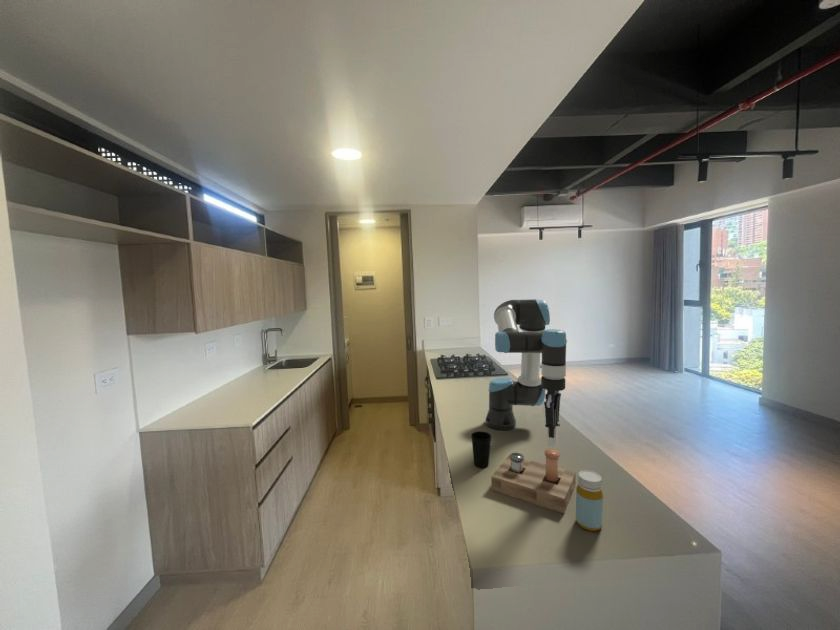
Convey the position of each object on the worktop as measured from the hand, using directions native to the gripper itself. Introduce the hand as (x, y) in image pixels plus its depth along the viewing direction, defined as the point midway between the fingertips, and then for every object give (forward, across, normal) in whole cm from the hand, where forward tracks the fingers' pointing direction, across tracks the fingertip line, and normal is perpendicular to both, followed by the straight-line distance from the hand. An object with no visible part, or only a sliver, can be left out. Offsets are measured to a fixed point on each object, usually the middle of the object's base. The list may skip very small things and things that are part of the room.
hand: (552, 445), depth 118 cm
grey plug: (+16, 0, -12) cm, 20 cm away
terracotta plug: (+12, 0, 0) cm, 12 cm away
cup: (+17, -5, -28) cm, 33 cm away
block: (+17, 0, -6) cm, 18 cm away
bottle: (+17, +10, +13) cm, 24 cm away
